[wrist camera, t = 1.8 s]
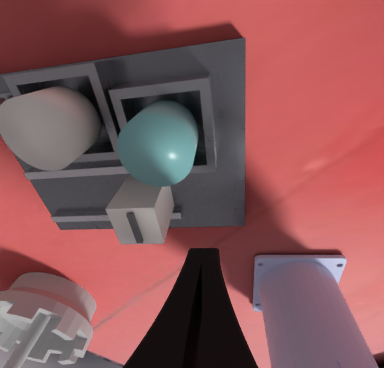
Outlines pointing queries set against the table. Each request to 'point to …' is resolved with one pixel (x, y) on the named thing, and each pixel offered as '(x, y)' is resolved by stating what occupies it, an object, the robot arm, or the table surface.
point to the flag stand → (45, 319)
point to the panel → (127, 109)
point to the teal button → (159, 144)
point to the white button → (49, 126)
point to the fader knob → (141, 212)
